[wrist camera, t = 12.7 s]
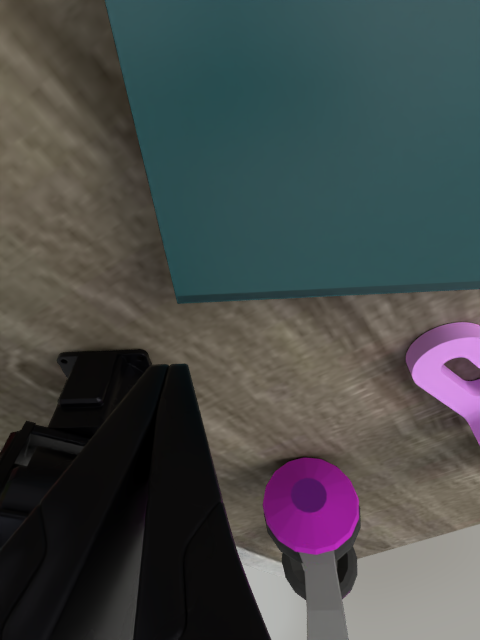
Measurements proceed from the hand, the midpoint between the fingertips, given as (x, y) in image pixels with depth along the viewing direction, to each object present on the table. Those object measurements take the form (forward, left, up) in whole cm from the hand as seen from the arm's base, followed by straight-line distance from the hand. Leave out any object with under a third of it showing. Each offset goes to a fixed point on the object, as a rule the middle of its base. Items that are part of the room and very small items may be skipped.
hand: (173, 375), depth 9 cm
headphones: (-37, -7, -13) cm, 40 cm away
